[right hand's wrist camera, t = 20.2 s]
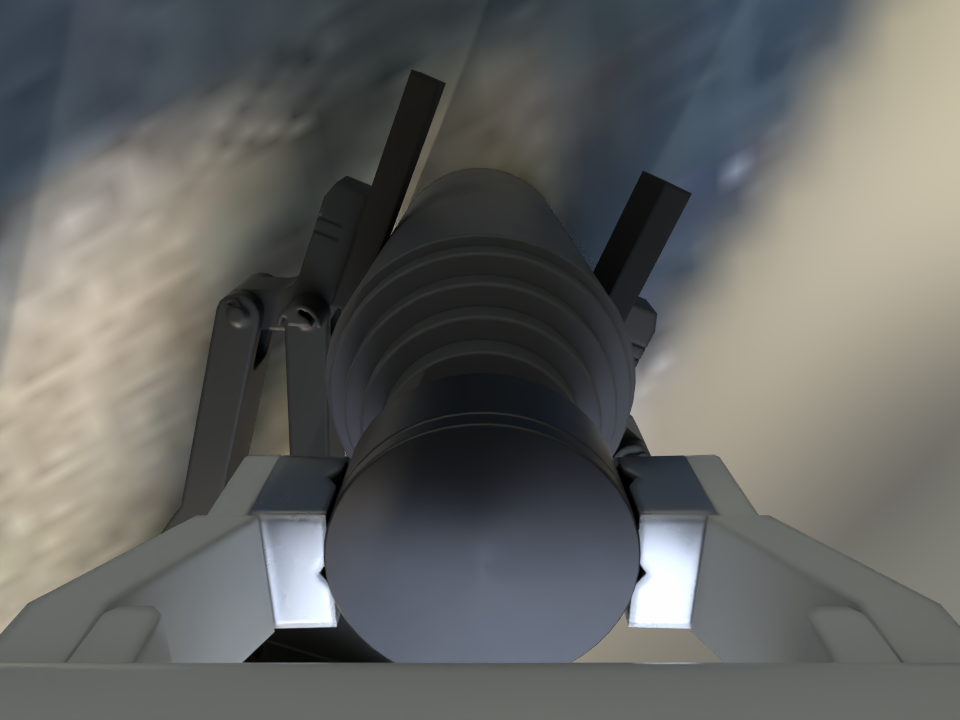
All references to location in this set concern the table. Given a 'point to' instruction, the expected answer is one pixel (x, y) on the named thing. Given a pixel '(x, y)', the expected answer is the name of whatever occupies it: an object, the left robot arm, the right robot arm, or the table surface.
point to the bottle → (479, 308)
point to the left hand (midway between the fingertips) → (550, 131)
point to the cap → (482, 527)
